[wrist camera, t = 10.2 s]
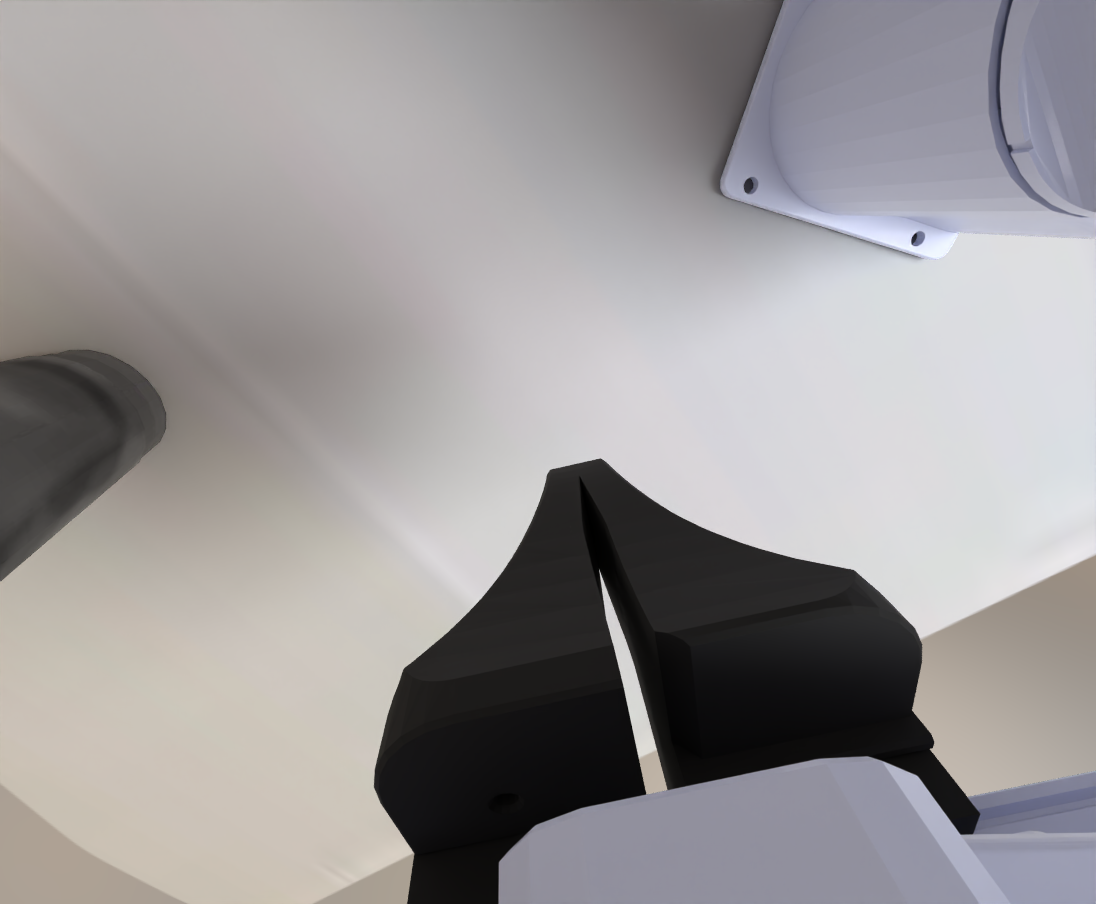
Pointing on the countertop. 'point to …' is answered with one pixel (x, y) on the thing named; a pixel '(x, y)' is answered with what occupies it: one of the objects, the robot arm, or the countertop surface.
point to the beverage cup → (66, 441)
